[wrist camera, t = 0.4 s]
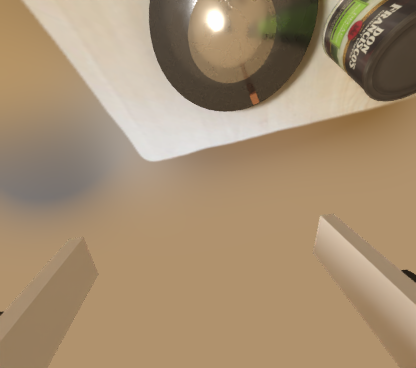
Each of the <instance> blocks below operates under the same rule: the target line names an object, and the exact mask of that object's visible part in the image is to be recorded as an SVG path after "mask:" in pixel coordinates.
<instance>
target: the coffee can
mask: <svg viewBox="0 0 416 368" xmlns="http://www.w3.org/2000/svg"><path fill="white" fill-rule="evenodd" d="M322 45H323V49H324V51H325V53H326V54H327V56H328V57H330V58H331V59H332V60H333V61H334V62H336V63H337V64H338V65H339V66H340V67H341V68H342V69H343V70H344V71H345V72H346V73H347V74H348V75H349V76H350V77H351V78H352V79H353V80H354V81H355V82H356V83H358V84H359V85H360V86H361V87H362V88H363V89H364V91H365V92H366V94H367V95H368V96H369V97H371V98H372V99H374V100H377V101H393V100H398V99H402V98H404V97H407V96H410V95H412V94H414V93H416V0H340V1H339V3H338V4H337V5H336V6H335V8H334V9H333V11H332V12H331V14H330V16H329V18H328V20H327V22H326V25H325V27H324V31H323V37H322Z"/></svg>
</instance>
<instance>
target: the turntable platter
mask: <svg viewBox="0 0 416 368" xmlns="http://www.w3.org/2000/svg"><path fill="white" fill-rule="evenodd" d="M317 10H318V0H150V6H149V25H150V34H151V40H152V44H153V49H154V52H155V55H156V58H157V60H158V63H159V65H160V67H161V69H162V71H163V73H164V74H165V76H166V78H167V79H168V81H169V82H170V83H171V84H172V86H173V87H174V88H175V89H176V90H177V91H178V92H179V93H180V94H181V95H182V96H184V97H185V98H186V99H187V100H189V101H191V102H192V103H194V104H196V105H198V106H200V107H203V108H206V109H209V110H214V111H224V112H225V111H236V110H242V109H245V108H248V107H251V106H253V105H256V104H258V103H260V102H261V101H263V100H265V99H266V98H268V97H269V96H271V95H272V94H273V93H275V92H276V91H277V90H278V89H279V88H280V87H281V86H282V85H283V84H284V83H285V82H286V81H287V80H288V79H289V77H290V76H291V75H292V74H293V72H294V71H295V69H296V68H297V66H298V65H299V63H300V62H301V60H302V58H303V56H304V54H305V52H306V50H307V47H308V45H309V42H310V40H311V37H312V33H313V30H314V27H315V22H316V17H317Z"/></svg>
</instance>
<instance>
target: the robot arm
mask: <svg viewBox="0 0 416 368" xmlns="http://www.w3.org/2000/svg"><path fill="white" fill-rule="evenodd" d="M313 254H314V255H315V256H316V257H317V259H318V260H319V262H320V263H321V264H322V266H323V267H324V268H325V269H326V271H327V272H328V273H329V275H330V276H331V277H332V279H333V280H334V281H335V282H336V284H337V285H338V286H339V288H340V289H341V290H342V292H343V293H344V295H345V296H346V297H347V298H348V300H349V301H350V302H351V304H352V305H353V306H354V308H355V309H356V310H357V312H358V313H359V314H360V315H361V317H362V318H363V320H364V321H365V322H366V324H367V325H368V326H369V327H370V329H371V330H372V331H373V332H374V334H375V335H376V337H377V338H378V339H379V341H380V342H381V343H382V344H383V346H384V347H385V348H386V350H387V351H388V352H389V354H390V355H391V356H392V357H393V359H394V360H395V362H396V363H397V364H398V366H399V367H400V368H416V275H415V274H414V273H412V272H410V271H408V270H399V269H398V268H397V267H396V266H395V265H394V264H392V263H391V262H390V261H389V260H388V259H386V258H385V257H384V256H383V255H382V254H380V253H379V252H378V251H377V250H376V249H374V248H373V247H372V246H371V245H370V244H369V243H367V242H366V241H365V240H364V239H363V238H361V237H360V236H359V235H358V234H357V233H355V232H354V231H353V230H352V229H351V228H350V227H348V226H347V225H346V224H345V223H343V222H342V221H341V220H340V219H339V218H338V217H337V216H335V215H334V214H329V215H321V216H320V220H319V226H318V230H317V236H316V240H315V246H314V251H313ZM97 276H98V272H97V269H96V267H95V264H94V262H93V260H92V257H91V255H90V252H89V250H88V247H87V245H86V242H85V240H84V238H83V237H81V238H71V239H68V241H67V242H66V243H65V244H64V245H63V246H62V247H61V248H60V250H59V251H58V252H57V253H56V254H55V255H54V256H53V258H52V259H51V260H50V261H49V262H48V263H47V264H46V265H45V266H44V268H43V269H42V270H41V271H40V272H39V273H38V274H37V275H36V277H35V278H34V279H33V280H32V281H31V282H30V283H29V285H28V286H27V287H26V288H25V289H24V290H23V291H22V292H21V293H20V295H19V296H18V297H17V298H16V299H15V300H14V301H13V302H12V304H11V305H10V306H9V307H8V308H7V309H6V310H5V311H4V312H0V368H47V367H48V366H49V364H50V362H51V360H52V358H53V356H54V355H55V353H56V351H57V349H58V347H59V345H60V344H61V342H62V340H63V338H64V336H65V334H66V333H67V331H68V329H69V327H70V325H71V323H72V322H73V320H74V318H75V316H76V314H77V313H78V311H79V309H80V307H81V305H82V303H83V301H84V300H85V298H86V296H87V294H88V292H89V291H90V289H91V287H92V285H93V283H94V281H95V280H96V278H97Z"/></svg>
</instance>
